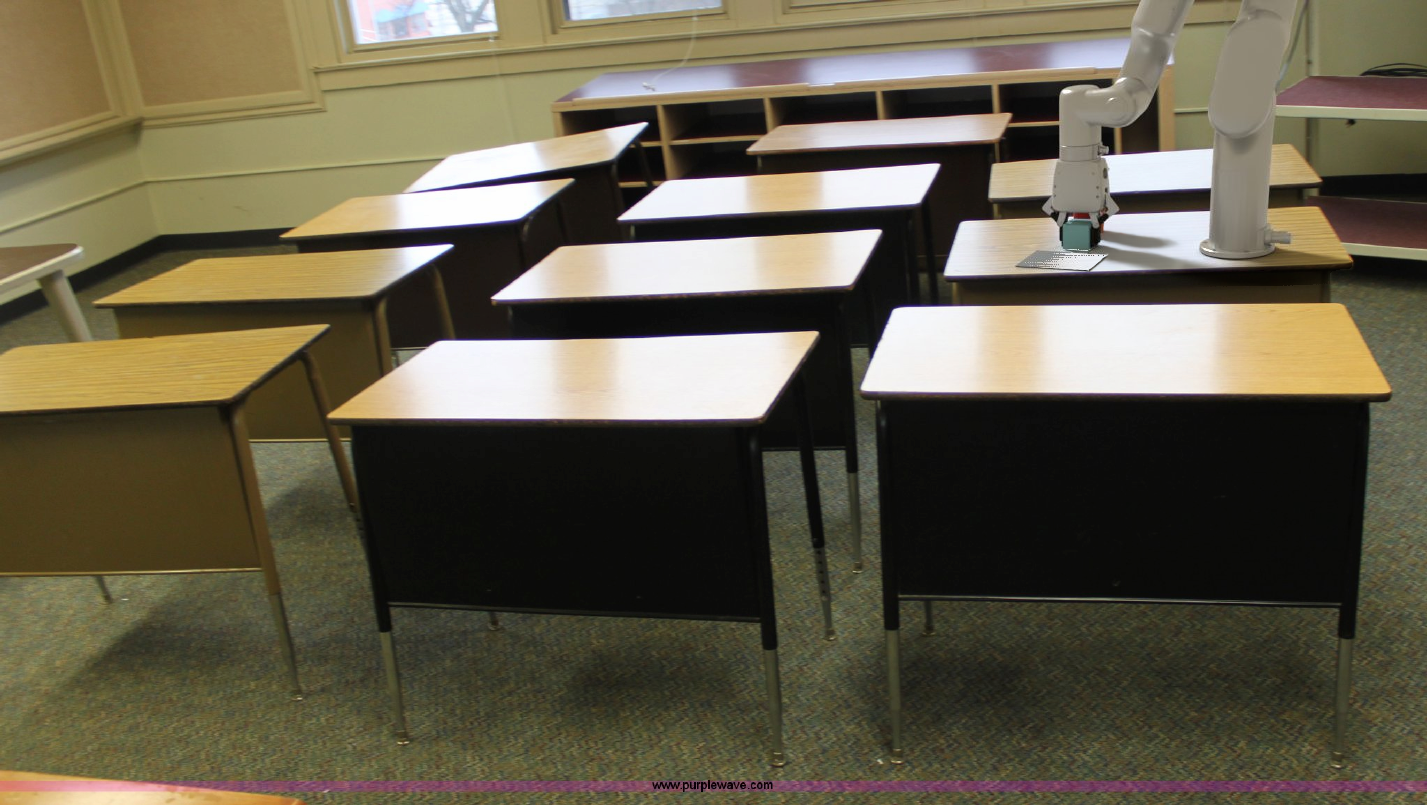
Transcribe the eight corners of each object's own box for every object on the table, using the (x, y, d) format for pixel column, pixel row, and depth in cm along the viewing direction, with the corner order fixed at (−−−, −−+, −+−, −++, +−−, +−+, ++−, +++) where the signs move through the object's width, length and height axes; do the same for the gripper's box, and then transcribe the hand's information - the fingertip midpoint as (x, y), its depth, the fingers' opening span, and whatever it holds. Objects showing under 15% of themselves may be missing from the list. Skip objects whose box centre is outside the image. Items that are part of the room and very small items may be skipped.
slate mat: (1108, 255, 215) (1108, 254, 215) (1088, 271, 207) (1088, 270, 207) (1036, 251, 223) (1036, 250, 223) (1015, 266, 215) (1015, 265, 215)
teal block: (1096, 244, 222) (1097, 219, 221) (1088, 251, 219) (1088, 226, 217) (1071, 243, 225) (1071, 218, 223) (1062, 250, 222) (1062, 225, 220)
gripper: (1131, 148, 213) (1130, 242, 220) (1043, 148, 223) (1044, 238, 230) (1119, 157, 208) (1117, 253, 214) (1029, 156, 217) (1030, 248, 224)
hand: (1079, 244), depth 222 cm, fingers closed on teal block, 5 cm apart
